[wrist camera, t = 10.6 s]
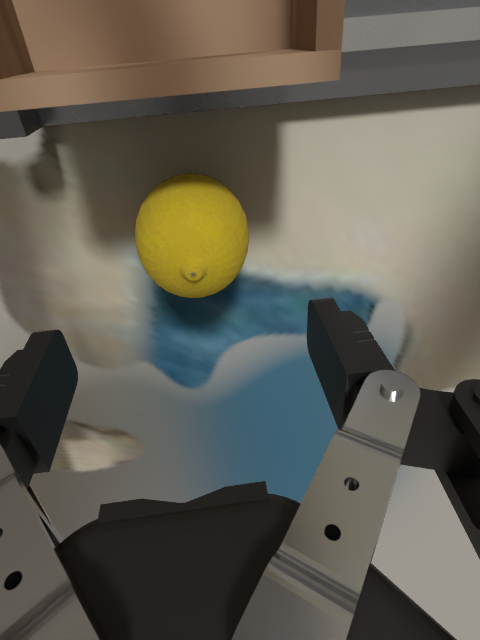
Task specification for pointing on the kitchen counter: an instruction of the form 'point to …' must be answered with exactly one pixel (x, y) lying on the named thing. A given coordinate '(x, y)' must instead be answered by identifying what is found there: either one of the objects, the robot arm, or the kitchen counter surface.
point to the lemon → (191, 235)
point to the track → (355, 80)
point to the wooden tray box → (161, 48)
